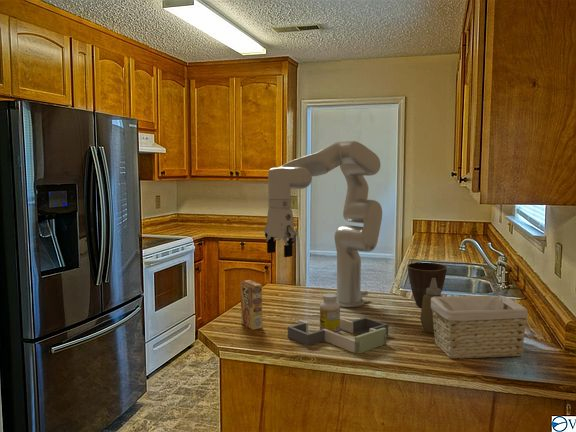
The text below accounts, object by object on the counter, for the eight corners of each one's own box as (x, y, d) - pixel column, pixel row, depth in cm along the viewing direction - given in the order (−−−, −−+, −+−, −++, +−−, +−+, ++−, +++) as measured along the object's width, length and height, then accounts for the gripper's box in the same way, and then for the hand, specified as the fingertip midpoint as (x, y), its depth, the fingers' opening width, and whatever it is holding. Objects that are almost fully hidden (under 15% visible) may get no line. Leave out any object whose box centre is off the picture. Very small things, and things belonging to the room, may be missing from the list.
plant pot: (440, 313, 183) (441, 271, 182) (401, 307, 191) (402, 267, 189) (449, 304, 196) (451, 264, 194) (413, 298, 204) (414, 261, 202)
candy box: (263, 328, 168) (262, 284, 166) (252, 330, 166) (252, 286, 164) (250, 321, 175) (250, 279, 174) (240, 323, 173) (239, 281, 171)
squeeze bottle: (445, 328, 167) (446, 276, 165) (444, 336, 159) (446, 281, 157) (420, 325, 170) (422, 274, 168) (419, 333, 162) (420, 280, 160)
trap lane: (340, 318, 178) (340, 305, 177) (400, 338, 157) (400, 323, 156) (282, 334, 161) (281, 320, 161) (340, 359, 140) (340, 343, 140)
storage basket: (446, 361, 139) (447, 310, 138) (427, 340, 155) (428, 295, 154) (528, 359, 140) (530, 309, 139) (501, 339, 156) (503, 294, 155)
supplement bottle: (318, 329, 166) (318, 292, 165) (337, 329, 166) (337, 292, 165) (321, 336, 159) (321, 298, 158) (341, 335, 160) (341, 297, 159)
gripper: (304, 205, 160) (304, 257, 162) (273, 202, 174) (273, 250, 176) (286, 206, 156) (286, 259, 158) (255, 203, 169) (256, 252, 171)
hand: (279, 254), depth 167 cm, fingers open, 9 cm apart
